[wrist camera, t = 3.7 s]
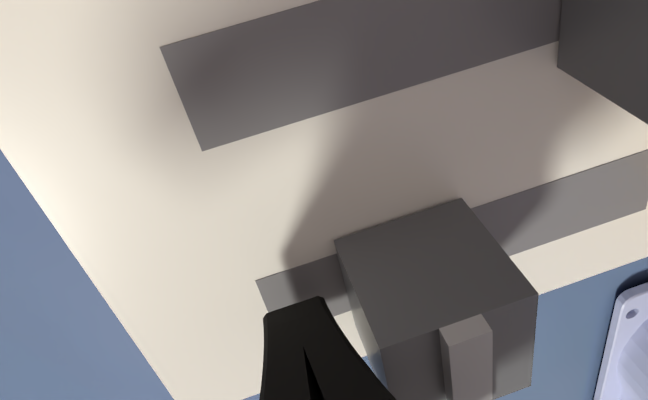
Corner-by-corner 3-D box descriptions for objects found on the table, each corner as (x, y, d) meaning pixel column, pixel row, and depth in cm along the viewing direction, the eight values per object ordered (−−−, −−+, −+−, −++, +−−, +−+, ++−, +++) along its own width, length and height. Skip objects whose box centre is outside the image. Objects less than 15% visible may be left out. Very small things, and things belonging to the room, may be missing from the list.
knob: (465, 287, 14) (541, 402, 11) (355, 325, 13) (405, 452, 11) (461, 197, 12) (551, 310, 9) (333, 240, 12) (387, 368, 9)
